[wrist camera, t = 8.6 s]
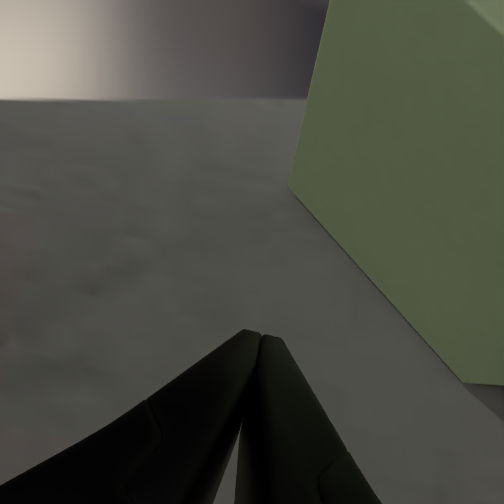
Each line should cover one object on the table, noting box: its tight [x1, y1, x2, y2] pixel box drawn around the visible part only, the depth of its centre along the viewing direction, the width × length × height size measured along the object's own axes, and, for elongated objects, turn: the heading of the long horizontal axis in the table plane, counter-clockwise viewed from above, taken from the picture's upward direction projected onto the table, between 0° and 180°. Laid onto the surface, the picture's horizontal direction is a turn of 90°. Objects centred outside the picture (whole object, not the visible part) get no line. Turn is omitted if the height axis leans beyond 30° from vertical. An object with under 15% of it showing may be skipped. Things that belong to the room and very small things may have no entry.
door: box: [287, 0, 504, 386], centre depth 13 cm, size 11×1×13 cm, turn 39°
